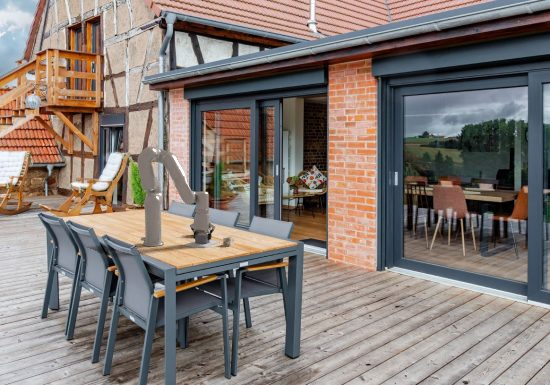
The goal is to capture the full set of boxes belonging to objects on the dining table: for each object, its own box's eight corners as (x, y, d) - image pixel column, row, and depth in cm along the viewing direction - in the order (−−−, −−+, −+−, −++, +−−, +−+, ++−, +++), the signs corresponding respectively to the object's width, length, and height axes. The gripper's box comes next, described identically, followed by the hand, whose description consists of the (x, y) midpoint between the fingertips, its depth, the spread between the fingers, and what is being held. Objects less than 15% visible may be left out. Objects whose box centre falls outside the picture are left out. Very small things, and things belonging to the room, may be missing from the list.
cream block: (223, 245, 296) (223, 237, 296) (226, 244, 301) (226, 236, 301) (230, 246, 295) (230, 238, 294) (234, 245, 299) (234, 237, 299)
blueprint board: (185, 246, 294) (185, 244, 294) (200, 241, 311) (200, 239, 311) (205, 247, 289) (205, 246, 289) (219, 242, 306) (219, 240, 306)
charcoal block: (195, 243, 298) (195, 235, 298) (200, 241, 304) (200, 233, 304) (204, 243, 296) (204, 235, 295) (209, 242, 302) (209, 234, 301)
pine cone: (188, 235, 332) (188, 220, 331) (201, 233, 338) (201, 219, 337) (204, 240, 314) (204, 225, 314) (217, 238, 320) (217, 223, 319)
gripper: (187, 211, 298) (187, 239, 299) (211, 213, 292) (211, 241, 293) (193, 210, 305) (193, 237, 306) (217, 211, 299) (217, 239, 300)
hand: (202, 239), depth 300 cm, fingers open, 9 cm apart
